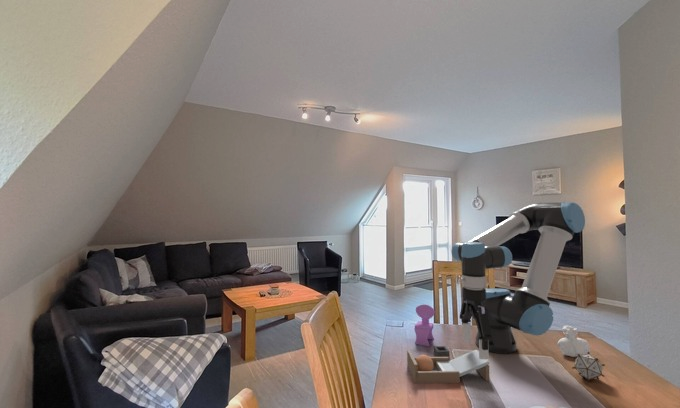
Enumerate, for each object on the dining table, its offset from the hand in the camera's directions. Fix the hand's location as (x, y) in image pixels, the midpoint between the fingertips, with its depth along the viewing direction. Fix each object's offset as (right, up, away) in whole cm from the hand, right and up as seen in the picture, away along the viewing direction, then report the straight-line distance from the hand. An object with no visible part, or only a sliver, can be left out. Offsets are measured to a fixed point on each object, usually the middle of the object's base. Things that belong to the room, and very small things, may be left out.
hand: (474, 349), depth 109 cm
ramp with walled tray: (-9, -8, 0) cm, 12 cm away
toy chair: (-10, -9, +27) cm, 30 cm away
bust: (+44, -8, +14) cm, 47 cm away
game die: (+36, -8, -4) cm, 37 cm away
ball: (-16, -8, 0) cm, 18 cm away
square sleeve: (-7, -9, +14) cm, 18 cm away
